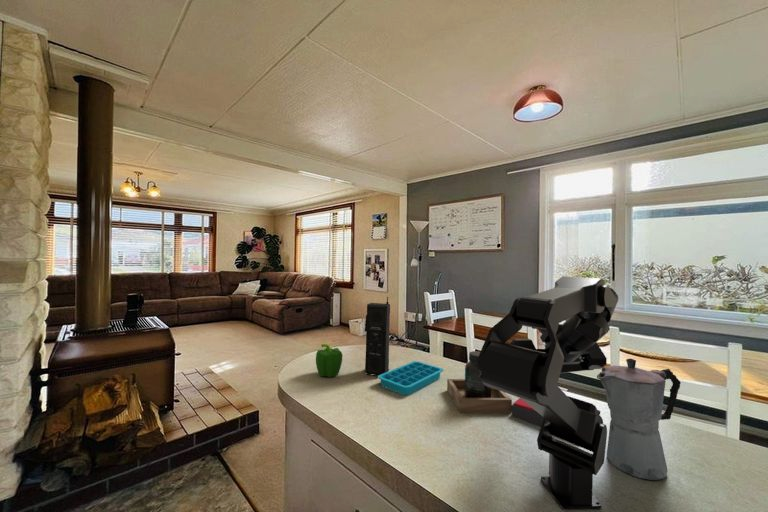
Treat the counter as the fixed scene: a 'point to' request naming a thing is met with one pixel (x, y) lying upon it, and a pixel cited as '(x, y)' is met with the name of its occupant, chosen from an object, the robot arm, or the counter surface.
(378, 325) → the portable radio
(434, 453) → the counter surface
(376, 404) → the counter surface
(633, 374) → the moka pot
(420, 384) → the ice cube tray
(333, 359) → the bell pepper
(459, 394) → the holder
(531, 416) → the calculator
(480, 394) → the supplement bottle
